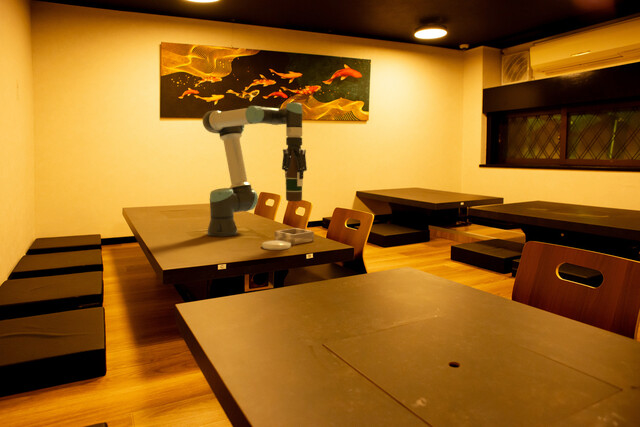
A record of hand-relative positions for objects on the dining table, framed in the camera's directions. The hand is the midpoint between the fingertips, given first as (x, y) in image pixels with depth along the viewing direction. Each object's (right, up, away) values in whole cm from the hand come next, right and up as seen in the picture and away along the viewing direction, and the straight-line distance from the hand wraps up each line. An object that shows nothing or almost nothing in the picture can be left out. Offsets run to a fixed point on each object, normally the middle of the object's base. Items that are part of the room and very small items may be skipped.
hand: (294, 185), depth 209 cm
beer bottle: (0, -7, +1) cm, 7 cm away
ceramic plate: (-7, -28, -10) cm, 31 cm away
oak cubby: (0, -26, +4) cm, 27 cm away
